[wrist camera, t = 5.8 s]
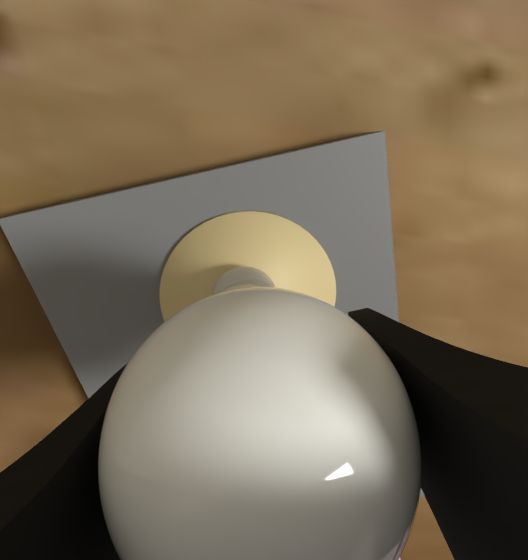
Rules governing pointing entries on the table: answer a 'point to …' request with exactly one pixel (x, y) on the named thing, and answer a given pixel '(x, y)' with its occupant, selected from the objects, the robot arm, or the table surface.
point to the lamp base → (209, 245)
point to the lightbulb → (259, 435)
